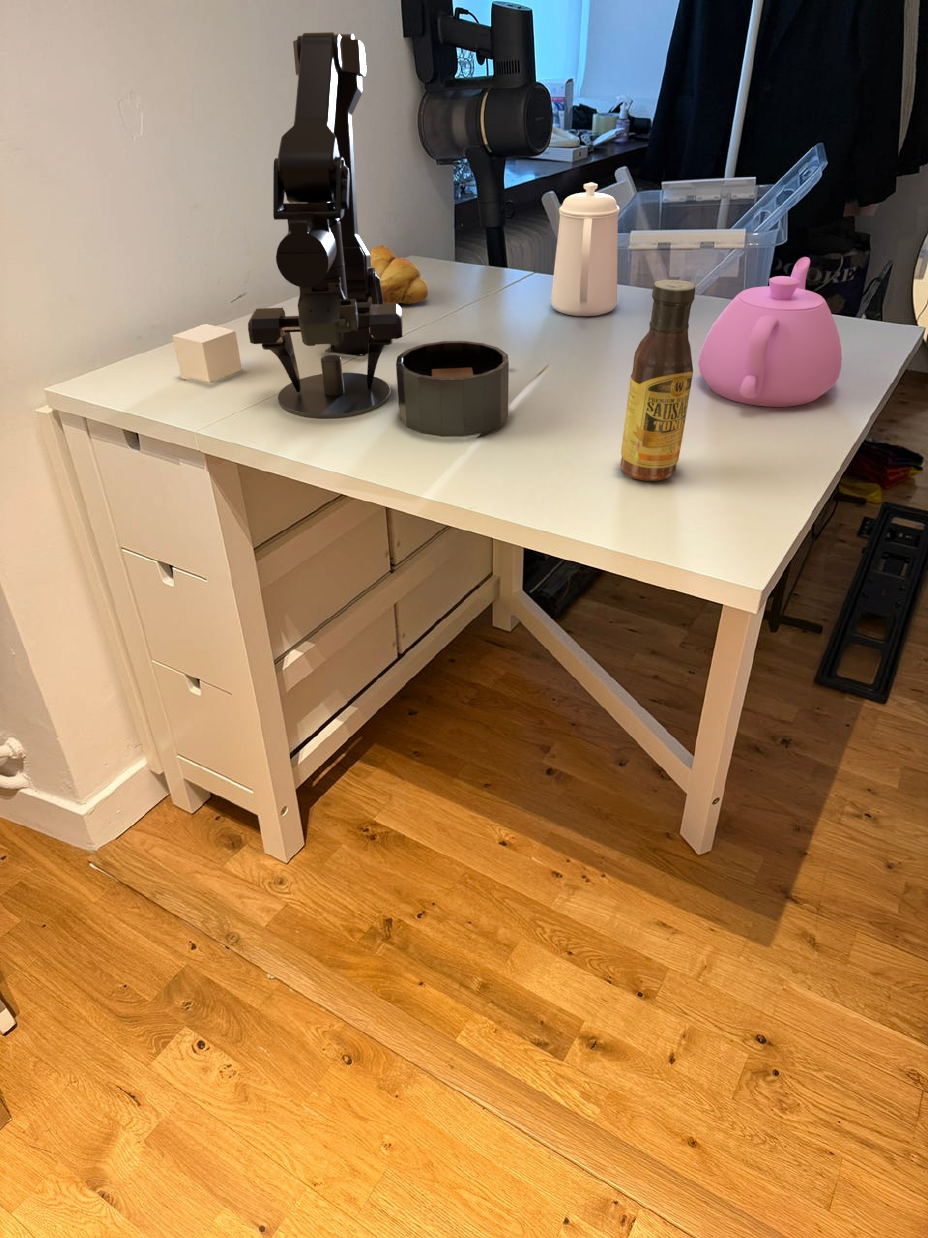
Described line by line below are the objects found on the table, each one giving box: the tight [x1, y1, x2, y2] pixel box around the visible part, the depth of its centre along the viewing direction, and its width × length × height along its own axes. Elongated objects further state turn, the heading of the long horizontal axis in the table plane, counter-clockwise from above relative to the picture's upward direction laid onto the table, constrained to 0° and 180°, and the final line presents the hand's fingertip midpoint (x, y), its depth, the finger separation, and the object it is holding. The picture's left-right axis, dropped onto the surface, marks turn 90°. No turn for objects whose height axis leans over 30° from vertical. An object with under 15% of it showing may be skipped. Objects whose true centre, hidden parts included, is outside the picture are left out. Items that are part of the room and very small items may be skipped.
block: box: [432, 368, 473, 378], centre depth 107 cm, size 5×5×5 cm
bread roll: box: [369, 244, 429, 305], centre depth 148 cm, size 13×10×8 cm
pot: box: [395, 340, 510, 439], centre depth 106 cm, size 13×13×8 cm
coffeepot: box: [550, 181, 620, 317], centre depth 139 cm, size 11×25×19 cm, turn 172°
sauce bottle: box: [620, 279, 696, 482], centre depth 90 cm, size 7×6×20 cm
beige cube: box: [171, 323, 243, 384], centre depth 121 cm, size 6×6×6 cm
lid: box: [277, 354, 392, 419], centre depth 112 cm, size 15×15×6 cm
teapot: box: [697, 256, 843, 408], centre depth 112 cm, size 25×18×14 cm
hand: (334, 389), depth 113 cm, fingers open, 9 cm apart
